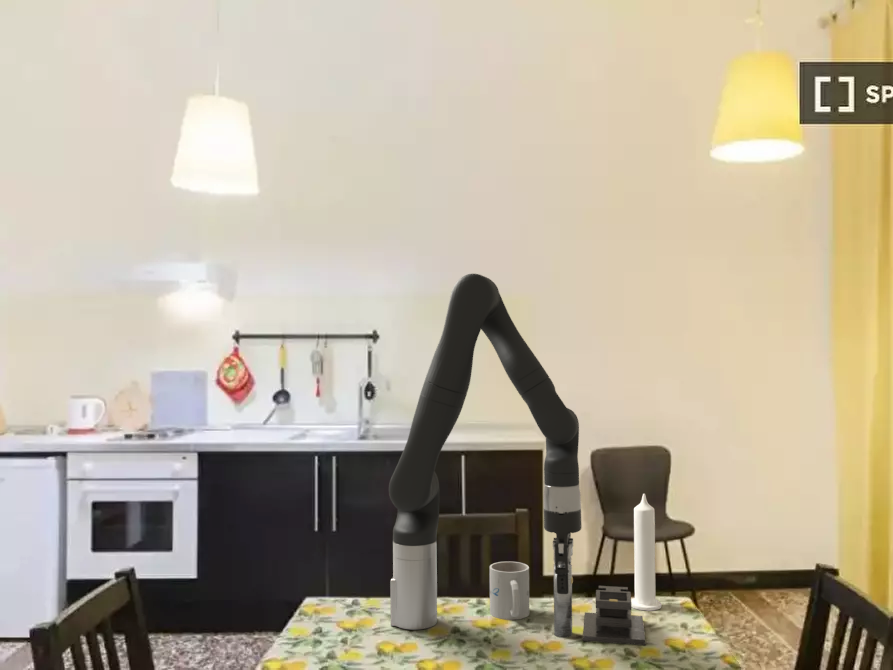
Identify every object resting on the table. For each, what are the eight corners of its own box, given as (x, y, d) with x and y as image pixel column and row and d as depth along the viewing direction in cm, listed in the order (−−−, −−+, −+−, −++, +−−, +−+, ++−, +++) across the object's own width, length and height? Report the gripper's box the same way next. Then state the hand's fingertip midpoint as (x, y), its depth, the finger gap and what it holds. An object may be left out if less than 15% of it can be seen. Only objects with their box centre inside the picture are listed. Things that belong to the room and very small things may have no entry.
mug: (490, 605, 178) (490, 561, 178) (529, 606, 177) (528, 561, 177) (488, 625, 166) (488, 577, 166) (529, 626, 165) (529, 578, 165)
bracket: (582, 640, 157) (582, 604, 157) (584, 617, 170) (584, 583, 170) (645, 645, 154) (645, 608, 154) (642, 620, 168) (642, 586, 168)
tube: (553, 636, 159) (553, 566, 159) (554, 630, 162) (554, 561, 163) (572, 638, 158) (572, 567, 158) (573, 631, 162) (573, 562, 162)
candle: (662, 611, 173) (661, 497, 174) (629, 609, 175) (628, 496, 175) (660, 601, 180) (659, 491, 181) (628, 599, 182) (627, 490, 182)
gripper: (546, 499, 168) (548, 576, 168) (540, 513, 154) (542, 597, 154) (582, 500, 167) (584, 577, 167) (579, 514, 153) (581, 599, 153)
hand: (564, 587), depth 160 cm, fingers open, 8 cm apart
